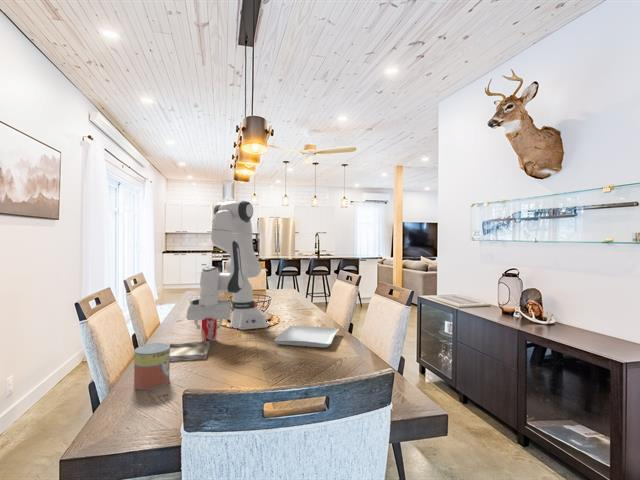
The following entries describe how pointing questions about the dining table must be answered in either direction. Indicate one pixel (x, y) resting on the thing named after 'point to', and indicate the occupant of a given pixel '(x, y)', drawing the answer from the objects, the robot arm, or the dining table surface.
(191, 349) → the square tray
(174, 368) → the dining table surface
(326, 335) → the square plate
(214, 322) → the soda can
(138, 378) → the canned food
